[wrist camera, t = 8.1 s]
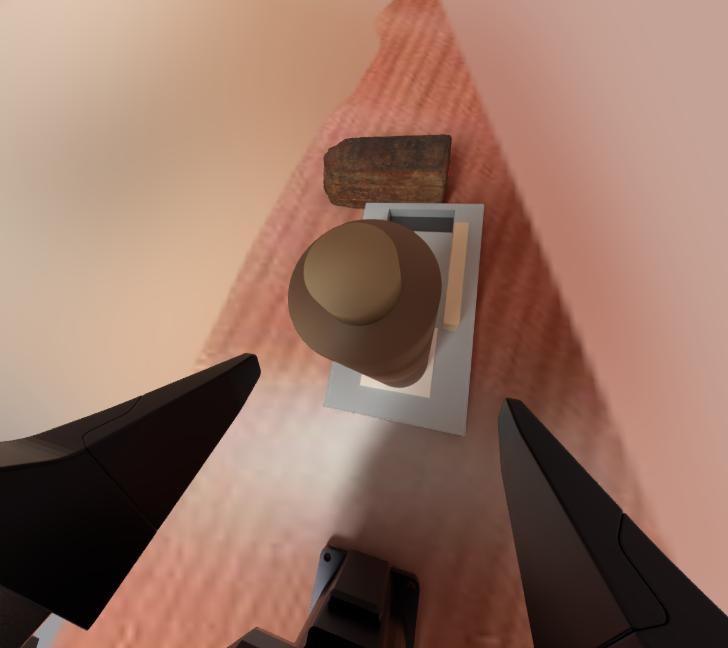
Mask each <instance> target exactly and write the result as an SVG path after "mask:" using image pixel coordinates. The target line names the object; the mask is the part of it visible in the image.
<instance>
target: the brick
mask: <svg viewBox="0 0 728 648" xmlns="http://www.w3.org/2000/svg"><path fill="white" fill-rule="evenodd" d="M451 140H452V138H451V136H450V135H444V134H443V135H424V136H392V137H360V138H349V139H345V140H343V141H342V142H340V143H339V144H338V145H336V146H334V147H331V148H329V149H328V152H327V153H326V154H325V155H324V190H325V192H326V194H327V195H328V197H329V200H330V202H331V203H332V204H334V205H339V206H346V207H352V208H363V209H365V206H366V203H436V204H443V202H444V197H445V191H446V185H447V178H448V169H449V163H450V154H451V153H450V151H451Z"/></svg>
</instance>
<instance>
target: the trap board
mask: <svg viewBox="0 0 728 648" xmlns="http://www.w3.org/2000/svg"><path fill="white" fill-rule="evenodd" d="M483 213H484V204H436V203H366V206H365V211H364V216H363V219H379V220H386V221H391V222H395V223H397V224H400V225H403V226H405V227H407V228H409V229H410V230H412V231H413V232H415V233H416V234H417V235H419V236H420V237H421V238H422V239H423V240H424V241H425V242H426V243H427V245H428V246H429V247H430V249H431V250H432V252H433V253H434V255H435V257H436V260H437V262H438V264H439V268H440V272H441V280H442V292H441V298H440V304H439V309H438V314H437V319H436V324H435V329H434V334H433V339H432V344H431V349H430V354H429V359H428V364H427V368H426V371H425V373H424V375H423V376H422V377H421V378H420V380H418V381H417V382H416V383H414V384H413V385H411V386H408V387H404V388H394V387H390V386H388V385H385V384H383V383H381V382H379V381H376V380H374V379H372V378H370V377H367V376H365V375H363V374H361V373H359V372H356V371H354V370H352V369H350V368H347V367H345V366H343V365H341V364H339V363H336V362H334V361H333V362H332V367H331V372H330V377H329V381H328V386H327V391H326V395H325V400H324V405H323V406H324V407H328V408H333V409H338V410H342V411H347V412H352V413H357V414H361V415H366V416H371V417H376V418H380V419H385V420H390V421H395V422H399V423H404V424H409V425H414V426H418V427H423V428H428V429H432V430H437V431H442V432H447V433H451V434H456V435H461V436H465V431H466V419H467V407H468V394H469V382H470V370H471V358H472V346H473V334H474V322H475V310H476V298H477V285H478V273H479V261H480V249H481V237H482V225H483Z"/></svg>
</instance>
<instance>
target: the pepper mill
mask: <svg viewBox="0 0 728 648" xmlns="http://www.w3.org/2000/svg"><path fill="white" fill-rule="evenodd" d="M441 292H442V280H441V272H440V268H439V264H438V262H437V260H436V257H435V255H434V253H433V252H432V250H431V249H430V247H429V246H428V245H427V243H426V242H425V241H424V240H423V239H422V238H421V237H420V236H419V235H417V234H416V233H415V232H413V231H412V230H410V229H409V228H407V227H405V226H403V225H400V224H397V223H395V222H391V221H386V220H379V219H363V220H356V221H352V222H348V223H345V224H342V225H340V226H337V227H335V228H333V229H331V230H329V231H328V232H326V233H325V234H323V235H322V236H320V237H319V238H318V239H317V240H316V241H314V242H313V243H312V244H311V245H310V246H309V247H308V248H307V250H306V251H305V252H304V254H303V255H302V256H301V258H300V259H299V261H298V263H297V265H296V267H295V269H294V271H293V274H292V277H291V280H290V285H289V291H288V306H289V312H290V316H291V319H292V322H293V325H294V327H295V329H296V331H297V333H298V334H299V335H300V337H301V338H302V340H303V341H304V342H305V343H306V344H307V345H308V346H309V347H310V348H311V349H313V350H314V351H315V352H317V353H318V354H320V355H322V356H324V357H325V358H327V359H330V360H332V361H334V362H336V363H339V364H341V365H343V366H345V367H347V368H350V369H352V370H354V371H356V372H359V373H361V374H363V375H365V376H367V377H370V378H372V379H374V380H376V381H379V382H381V383H383V384H385V385H388V386H390V387H394V388H404V387H408V386H411V385H413V384H414V383H416V382H417V381H418V380H420V378H421V377H422V376H423V375H424V373H425V371H426V368H427V364H428V359H429V354H430V349H431V344H432V339H433V334H434V329H435V324H436V319H437V314H438V309H439V304H440V298H441Z"/></svg>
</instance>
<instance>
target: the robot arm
mask: <svg viewBox="0 0 728 648" xmlns="http://www.w3.org/2000/svg"><path fill="white" fill-rule="evenodd" d="M260 374H261V369H260V366H259V362H258V358H257V356H256V355H255V354H250V353H244V354H242V355H239V356H237V357H234V358H232V359H230V360H227V361H225V362H222V363H220V364H217V365H215V366H212V367H210V368H208V369H205V370H203V371H200V372H198V373H195V374H193V375H190V376H188V377H185V378H183V379H181V380H178V381H176V382H173V383H171V384H168V385H166V386H163V387H161V388H159V389H156V390H154V391H151V392H149V393H146V394H145V395H143V396H139V397H137V398H134V399H132V400H129V401H127V402H124V403H122V404H119V405H116V406H114V407H111V408H109V409H106V410H104V411H101V412H98V413H95V414H92V415H90V416H87V417H84V418H81V419H79V420H76V421H73V422H70V423H68V424H65V425H62V426H59V427H56V428H53V429H51V430H48V431H45V432H42V433H40V434H36V435H33V436H30V437H26V438H22V439H17V440H12V441H4V442H0V648H36V647H37V644H38V641H39V638H37V637H36V636H34V635H33V634H34V633H35V632H36V631H37V629H38V628H39V627H40V626H41V625H42V624H43V622H45V620H46V619H47V618H48V617H49V616H50V615H51V614H52V613H54V614H56V615H58V616H59V617H61V618H63V619H65V620H67V621H69V622H71V623H73V624H75V625H77V626H78V627H80V628H82V629H84V630H86V631H87V630H89V628H90V627H91V626H92V625H93V623H94V622H95V621H96V619H97V618H98V617H99V615H100V614H101V612H102V611H103V609H104V608H105V606H106V605H107V603H108V602H109V601H110V599H111V598H112V596H113V595H114V593H115V592H116V590H117V589H118V588H119V586H120V585H121V583H122V582H123V580H124V579H125V577H126V576H127V575H128V573H129V572H130V570H131V569H132V567H133V566H134V564H135V563H136V562H137V560H138V559H139V557H140V556H141V554H142V553H143V551H144V550H145V549H146V547H147V546H148V544H149V543H150V541H151V540H152V538H153V537H154V535H155V534H156V533H157V530H158V529H159V528H160V527H161V525H162V524H163V522H164V521H165V519H166V518H167V516H168V515H169V514H170V512H171V511H172V509H173V508H174V506H175V505H176V503H177V502H178V501H179V499H180V498H181V496H182V495H183V493H184V492H185V490H186V489H187V488H188V486H189V485H190V483H191V482H192V480H193V479H194V477H195V476H196V475H197V473H198V472H199V470H200V469H201V467H202V466H203V464H204V463H205V461H206V460H207V459H208V457H209V456H210V454H211V453H212V451H213V450H214V448H215V447H216V446H217V444H218V443H219V441H220V440H221V438H222V437H223V435H224V434H225V433H226V431H227V430H228V428H229V427H230V425H231V424H232V422H233V421H234V420H235V418H236V417H237V415H238V414H239V412H240V411H241V409H242V407H243V406H244V404H245V402H246V400H247V399H248V397H249V395H250V393H251V392H252V390H253V388H254V386H255V384H256V383H257V381H258V379H259V377H260ZM498 430H499V445H500V461H501V471H502V478H503V483H504V489H505V494H506V499H507V505H508V510H509V515H510V521H511V526H512V532H513V537H514V542H515V548H516V553H517V558H518V564H519V569H520V574H521V580H522V585H523V590H524V596H525V601H526V607H527V612H528V617H529V623H530V628H531V633H532V639H533V644H534V648H728V616H727V615H726V614H724V612H723V611H721V609H719V608H718V607H717V606H716V605H715V604H714V603H713V602H712V601H711V600H710V599H709V598H708V597H707V596H706V595H705V594H704V593H703V592H702V591H701V590H700V589H699V588H698V587H697V586H696V585H695V584H694V583H693V582H692V581H691V580H690V579H689V578H688V577H687V576H686V575H685V574H684V573H683V572H682V571H681V570H680V569H679V568H678V567H677V566H676V565H675V564H674V563H673V562H672V561H671V560H670V559H669V558H668V557H667V556H666V555H665V554H664V553H663V552H662V551H661V550H660V549H659V548H658V547H657V546H656V545H655V544H654V543H653V542H652V541H651V540H650V539H649V538H648V537H647V536H646V534H645V533H644V532H643V531H642V530H641V529H640V528H639V527H638V526H637V525H636V524H635V523H634V522H633V521H632V520H631V518H630V517H629V516H628V515H627V514H625V513H623V510H622V509H621V508H620V507H619V506H618V505H617V504H616V502H615V501H614V500H613V499H612V498H611V497H610V496H609V495H608V494H607V493H606V492H605V491H604V490H603V488H602V487H601V486H600V485H599V484H598V483H597V482H596V481H595V480H594V479H593V478H592V477H591V476H590V474H589V473H588V472H587V471H586V470H585V469H584V468H583V467H582V466H581V465H580V464H579V463H578V462H577V460H576V459H575V458H574V457H573V456H572V455H571V454H570V453H569V452H568V451H567V450H566V449H565V448H564V446H563V445H562V444H561V443H560V442H559V441H558V440H557V439H556V438H555V437H554V436H553V435H552V434H551V432H550V431H549V430H548V429H547V428H546V427H545V426H544V425H543V424H542V423H541V422H540V421H539V420H538V418H537V417H536V416H535V415H534V414H533V413H532V412H531V411H530V410H529V409H528V408H527V407H526V406H525V404H524V403H523V402H522V401H520V400H518V399H512V398H506V399H505V400H504V402H503V405H502V408H501V410H500V413H499V417H498ZM326 553H329V554H330V555H331V559H328V558H327V557H326ZM409 582H412V583H414V585H415V587H414V588H410V587H409V586H408V583H409ZM419 591H420V584H419V580H418V578H417V577H416V575H414V574H412V573H409V572H406V571H403V570H401V569H398V568H395V567H392V566H390V565H389V563H388V562H387V561H384V560H381V559H378V558H375V557H373V556H370V555H367V554H364V553H361V552H358V551H355V550H351V551H350V552H348V551H346V550H343V549H340V548H337V547H334V546H331V545H327V546H325V547H324V549H323V550H322V552H321V554H320V559H319V565H318V570H317V575H316V581H315V586H314V591H313V596H312V602H311V607H310V612H309V617H308V619H307V621H306V622H305V624H304V626H303V628H302V630H301V632H300V634H299V636H298V638H297V640H296V642H295V643H292V642H290V641H288V640H286V639H284V638H281V637H279V636H277V635H275V634H273V633H270V632H268V631H266V630H264V629H261V628H258V627H255V628H254V629H253V630H251V631H250V632H248V633H247V634H245V635H244V636H243V637H241V638H240V639H238V640H237V641H236V642H234V643H233V644H231V645H230V646H229V647H227V648H413V647H414V638H415V628H416V619H417V610H418V601H419Z"/></svg>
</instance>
